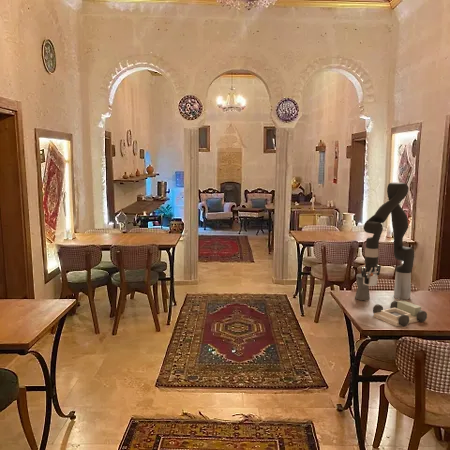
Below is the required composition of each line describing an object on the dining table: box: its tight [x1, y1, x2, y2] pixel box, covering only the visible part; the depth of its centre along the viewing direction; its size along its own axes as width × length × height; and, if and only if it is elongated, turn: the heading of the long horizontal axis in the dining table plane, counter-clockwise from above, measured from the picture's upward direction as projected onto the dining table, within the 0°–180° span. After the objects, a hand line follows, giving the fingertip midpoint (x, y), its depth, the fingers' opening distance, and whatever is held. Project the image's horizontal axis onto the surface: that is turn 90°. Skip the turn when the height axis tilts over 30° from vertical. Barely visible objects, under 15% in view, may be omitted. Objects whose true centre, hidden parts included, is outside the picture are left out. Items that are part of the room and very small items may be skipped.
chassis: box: [372, 300, 428, 327], centre depth 247 cm, size 22×20×7 cm
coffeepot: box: [354, 273, 371, 301], centre depth 280 cm, size 15×9×18 cm, turn 128°
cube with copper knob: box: [363, 272, 379, 287], centre depth 261 cm, size 6×6×7 cm
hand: (370, 283), depth 261 cm, fingers closed on cube with copper knob, 5 cm apart
